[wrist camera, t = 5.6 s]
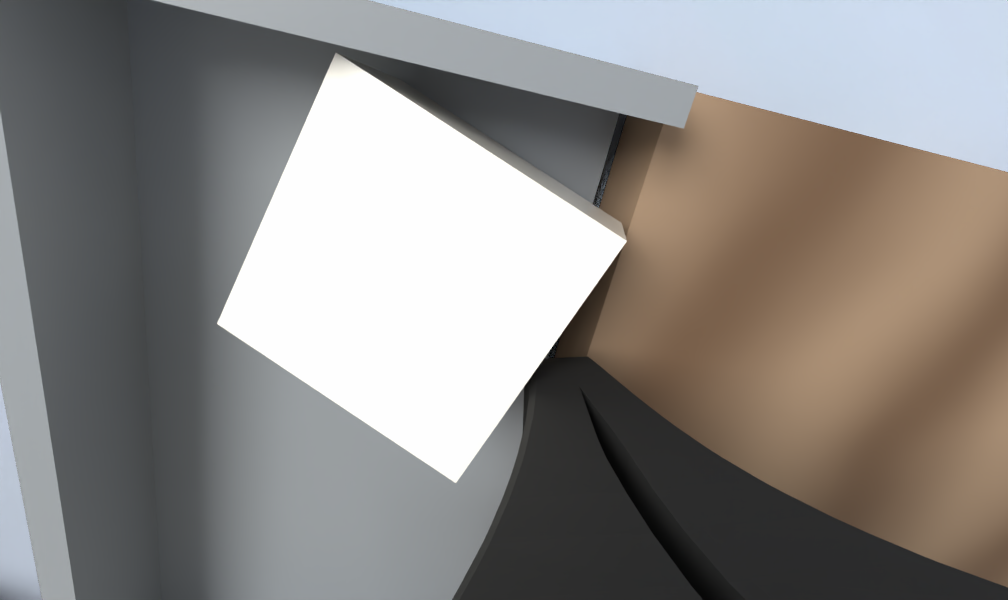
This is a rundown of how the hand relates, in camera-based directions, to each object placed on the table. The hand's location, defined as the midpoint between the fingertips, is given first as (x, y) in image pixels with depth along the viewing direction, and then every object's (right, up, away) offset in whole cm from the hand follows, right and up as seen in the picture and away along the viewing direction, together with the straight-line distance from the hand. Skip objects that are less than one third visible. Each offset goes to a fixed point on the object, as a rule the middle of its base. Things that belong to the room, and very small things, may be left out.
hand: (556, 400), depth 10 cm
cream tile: (-2, +3, 0) cm, 4 cm away
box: (-5, -1, +3) cm, 6 cm away
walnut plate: (+8, -3, +6) cm, 11 cm away
